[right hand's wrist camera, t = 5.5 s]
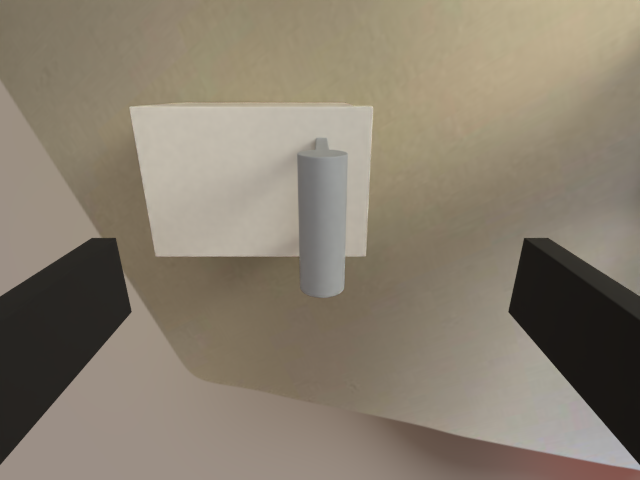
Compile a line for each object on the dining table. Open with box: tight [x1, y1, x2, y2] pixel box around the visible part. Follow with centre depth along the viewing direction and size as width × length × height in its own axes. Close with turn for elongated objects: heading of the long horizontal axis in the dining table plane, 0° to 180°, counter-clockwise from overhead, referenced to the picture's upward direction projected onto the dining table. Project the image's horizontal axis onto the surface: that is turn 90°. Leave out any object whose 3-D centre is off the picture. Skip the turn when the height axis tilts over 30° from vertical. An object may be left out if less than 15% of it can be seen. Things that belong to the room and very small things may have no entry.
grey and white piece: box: [129, 106, 373, 298], centre depth 21 cm, size 15×10×10 cm
